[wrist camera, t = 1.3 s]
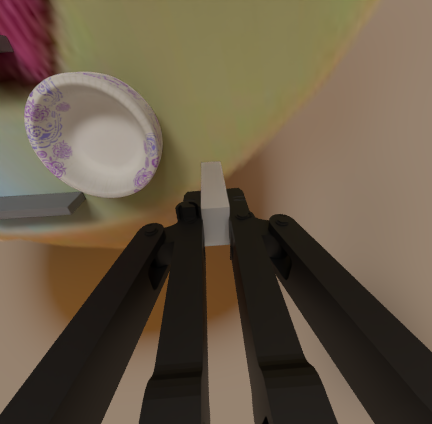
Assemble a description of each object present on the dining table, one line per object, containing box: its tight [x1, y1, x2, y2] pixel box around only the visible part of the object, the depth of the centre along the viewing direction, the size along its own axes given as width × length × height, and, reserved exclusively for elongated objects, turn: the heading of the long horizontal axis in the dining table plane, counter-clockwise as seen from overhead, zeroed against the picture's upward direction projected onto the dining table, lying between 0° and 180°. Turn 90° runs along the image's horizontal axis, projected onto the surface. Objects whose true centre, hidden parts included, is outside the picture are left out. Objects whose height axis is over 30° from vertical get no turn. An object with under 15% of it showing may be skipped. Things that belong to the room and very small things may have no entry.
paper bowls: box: [24, 72, 163, 198], centre depth 28 cm, size 15×15×8 cm
